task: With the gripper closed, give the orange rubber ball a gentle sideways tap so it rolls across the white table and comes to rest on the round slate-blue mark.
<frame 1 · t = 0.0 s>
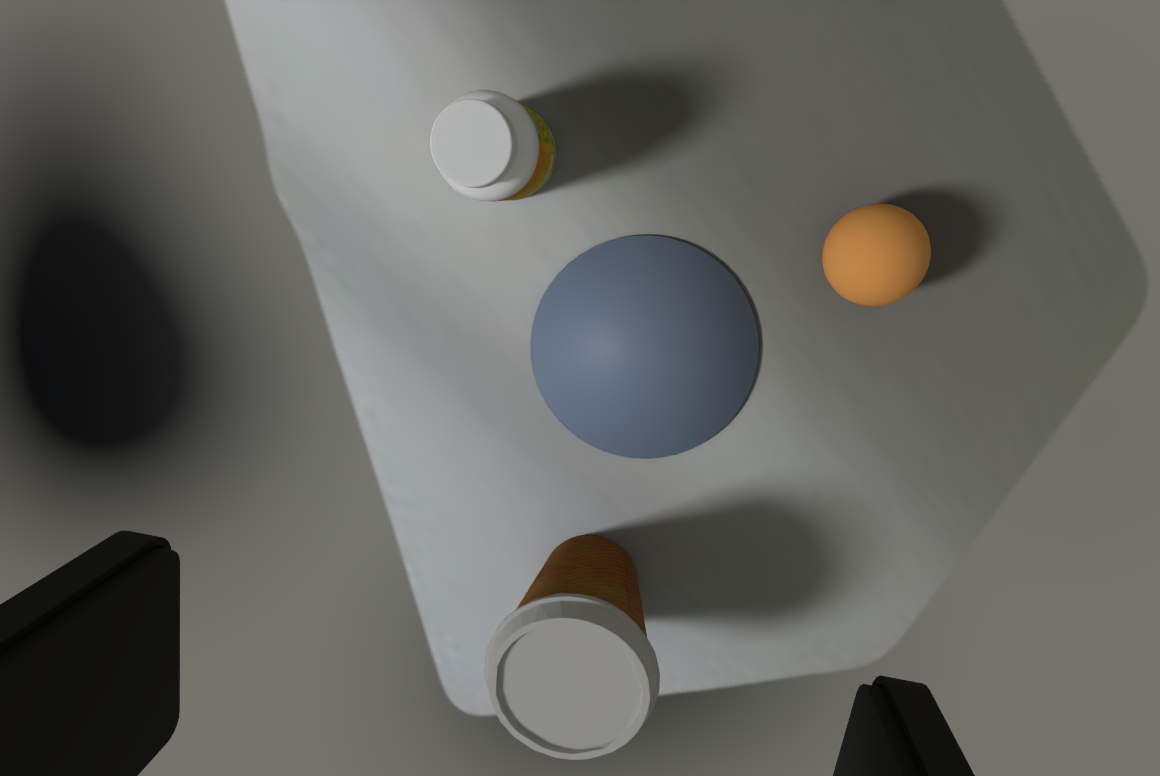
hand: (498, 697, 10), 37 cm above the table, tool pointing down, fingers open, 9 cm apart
supplement bottle: (512, 153, 45), on the table
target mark: (642, 350, 47), on the table
disposable coffee cup: (591, 576, 51), on the table
ball: (875, 255, 41), on the table
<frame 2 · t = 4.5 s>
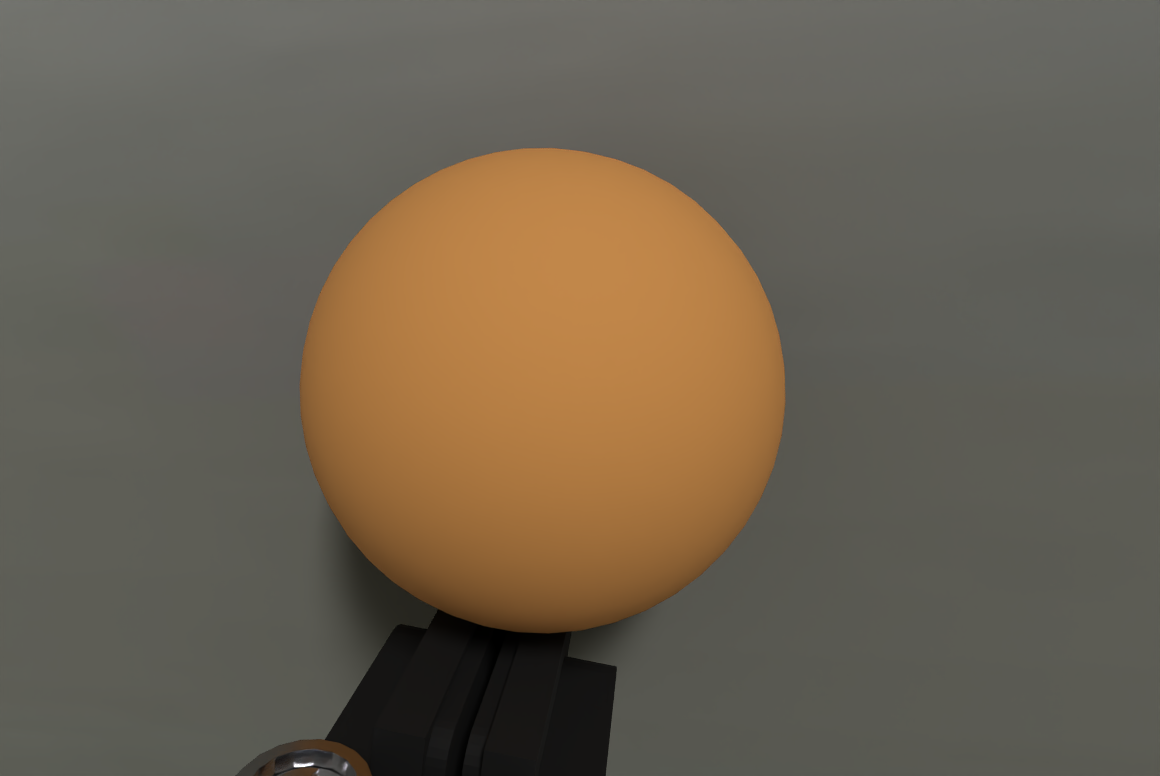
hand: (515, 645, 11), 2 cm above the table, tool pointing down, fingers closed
ball: (546, 390, 9), on the table
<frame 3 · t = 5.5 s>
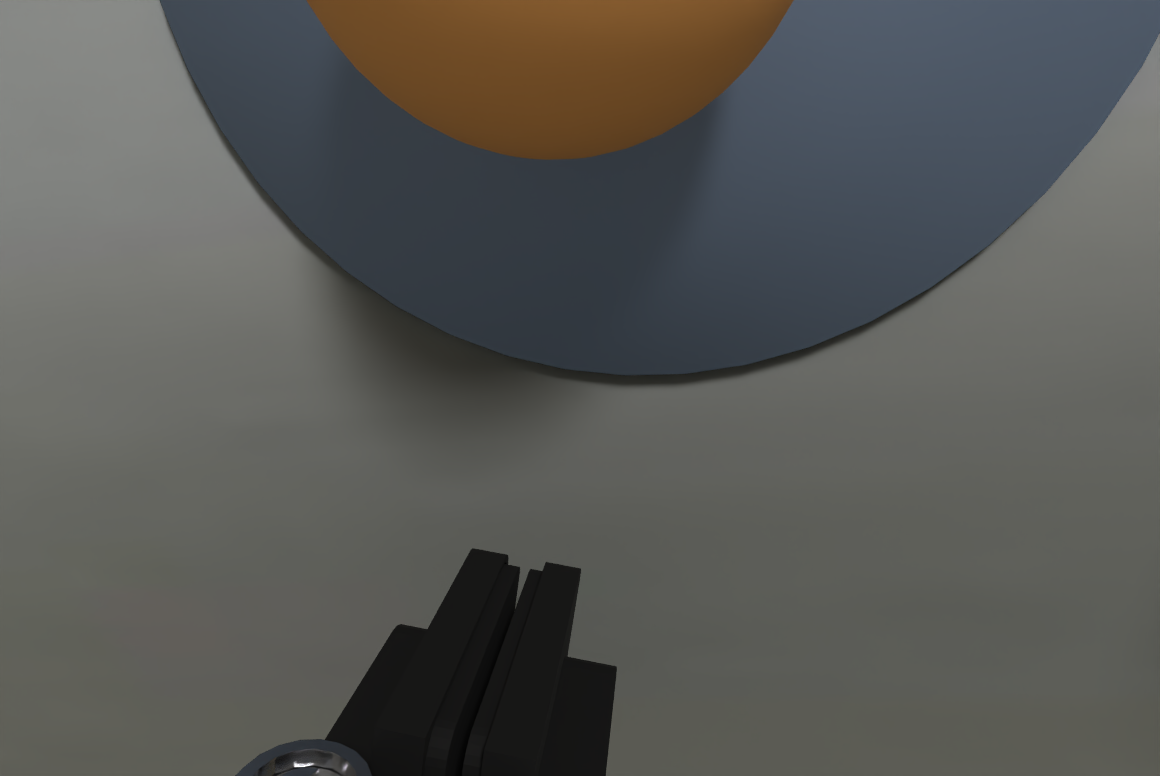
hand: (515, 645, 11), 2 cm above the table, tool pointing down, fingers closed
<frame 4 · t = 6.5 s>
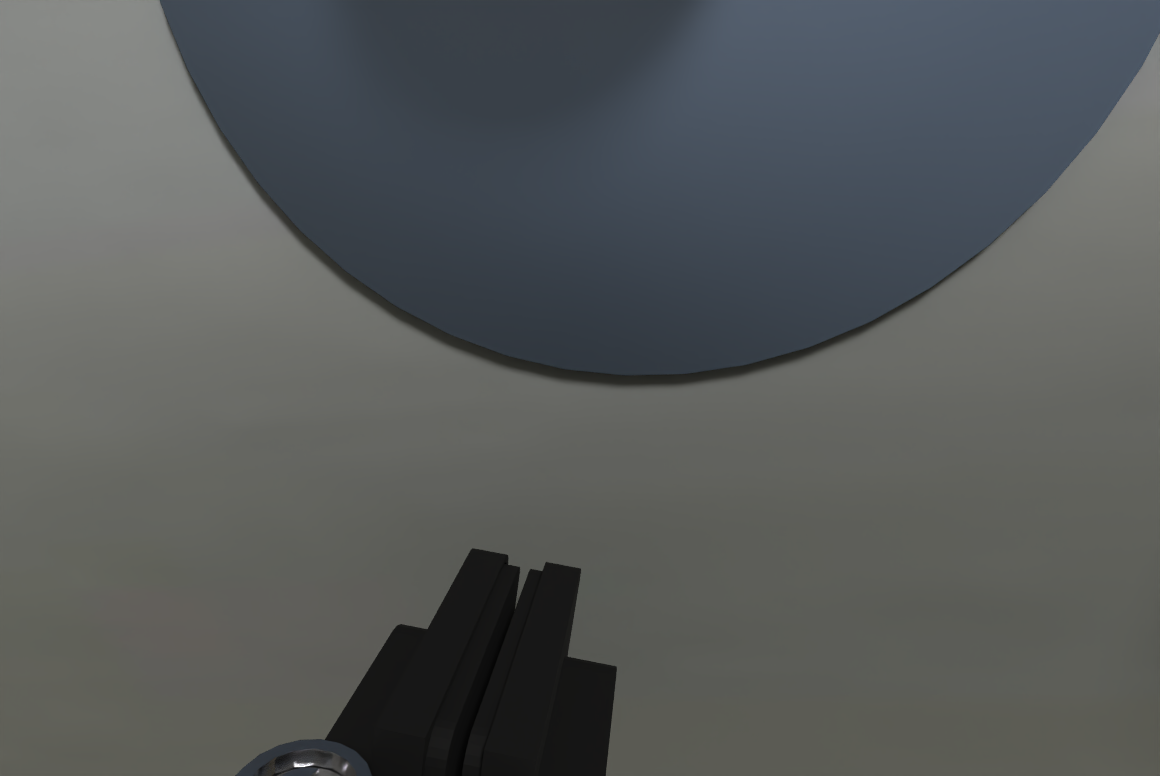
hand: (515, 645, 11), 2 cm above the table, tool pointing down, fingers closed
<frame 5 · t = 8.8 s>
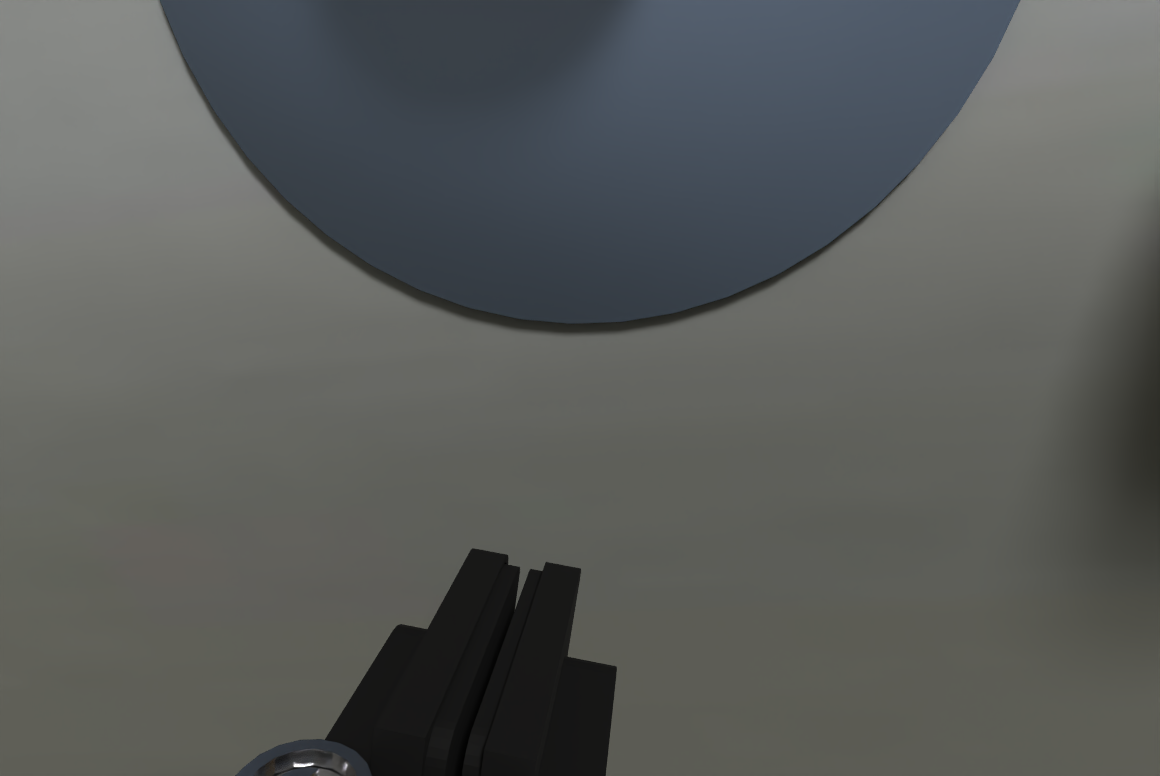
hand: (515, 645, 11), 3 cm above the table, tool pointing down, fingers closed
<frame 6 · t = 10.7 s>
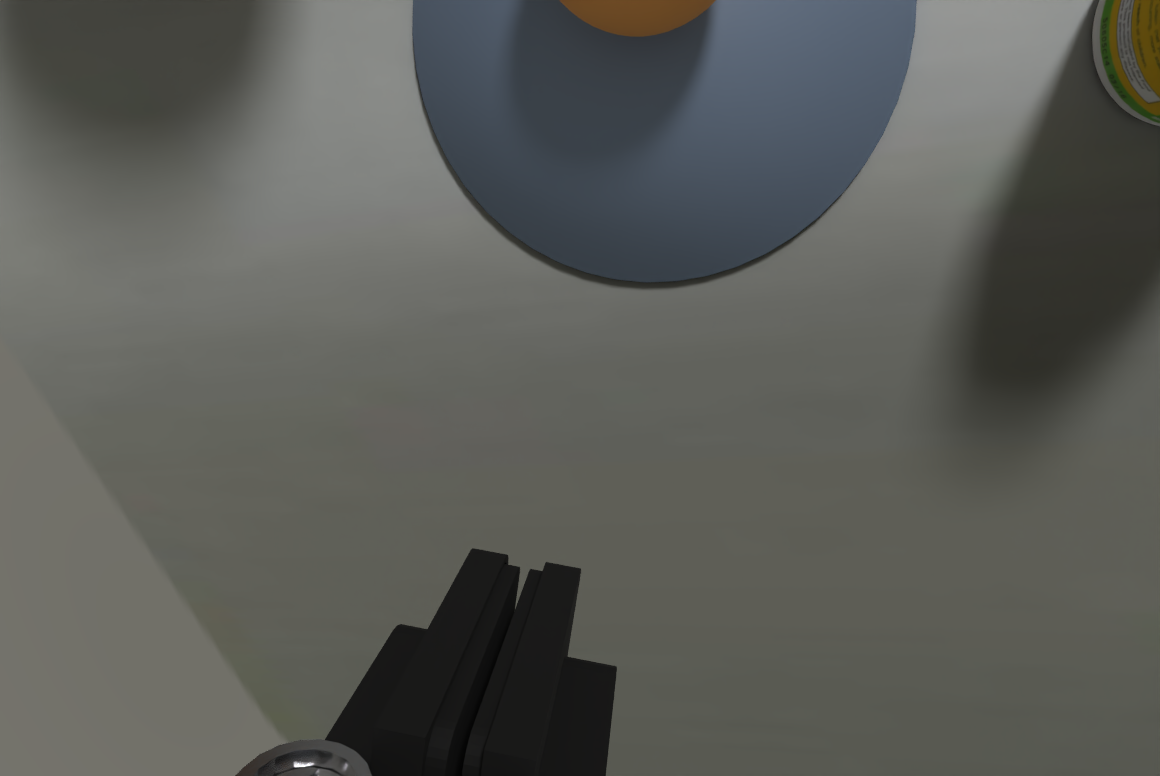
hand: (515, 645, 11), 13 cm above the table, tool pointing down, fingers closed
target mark: (655, 33, 21), on the table
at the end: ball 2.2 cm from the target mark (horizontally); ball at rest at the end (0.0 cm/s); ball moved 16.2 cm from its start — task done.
